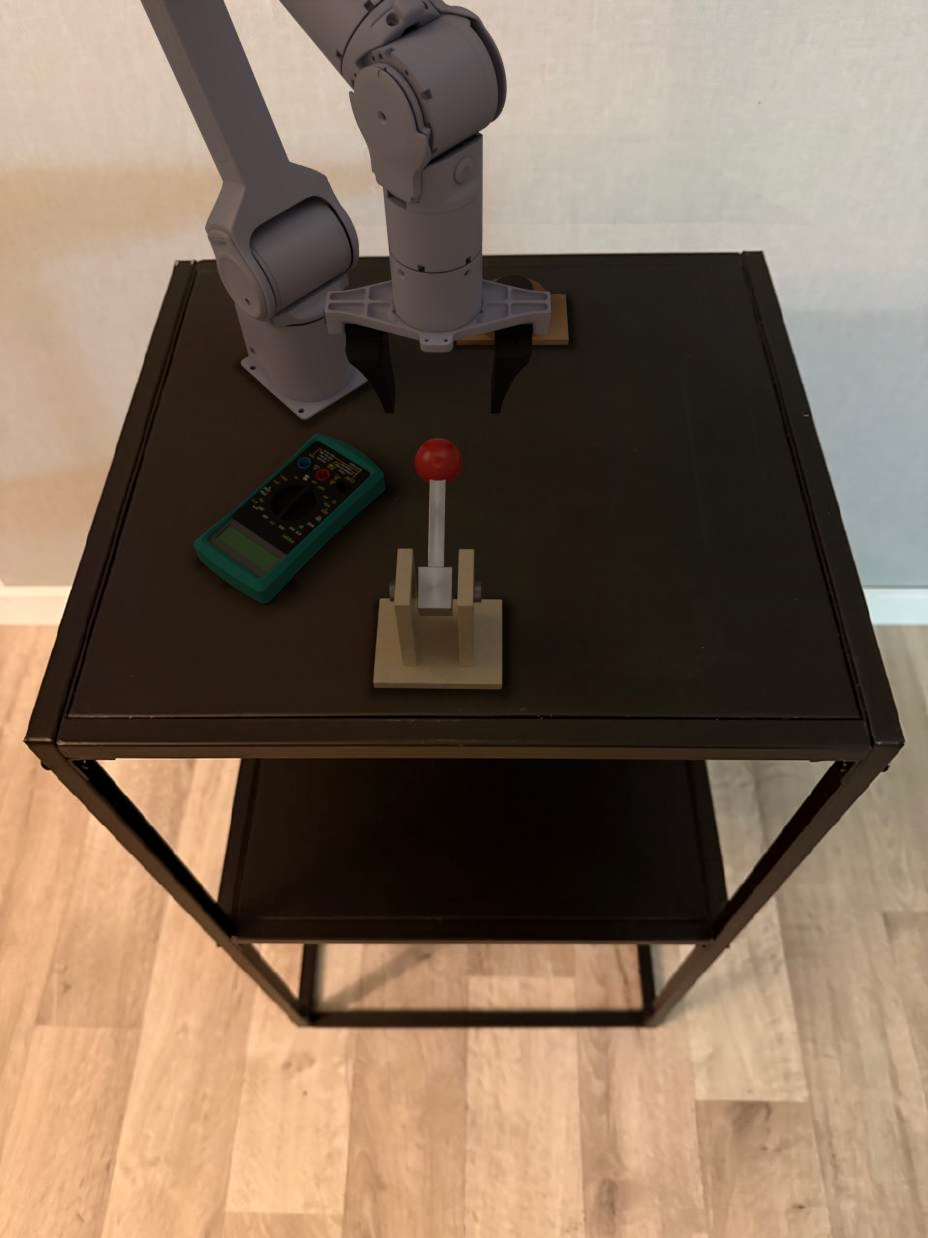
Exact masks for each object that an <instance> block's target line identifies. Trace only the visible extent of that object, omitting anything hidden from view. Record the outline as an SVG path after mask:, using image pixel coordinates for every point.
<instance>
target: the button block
mask: <svg viewBox="0 0 928 1238" xmlns="http://www.w3.org/2000/svg"><path fill="white" fill-rule="evenodd" d="M499 278H500V277H498V278H495V279H493V280H491V281H492V282H495V281H496V280H497V279H499ZM528 279H529V280H530V281H531V283H532V285H533V288H534V289H533V291H546V292H547V290H546V289H545V288H544V287H543V286H542V285H541V283H540V282H538V281H535V280H533V279H530V278H528ZM550 299H551V318H550V331H549V335H536V334H534V333H533V332H532V346H568V345H569V340H570V339H569V323H568V309H567V295H566V293H550ZM494 338H495V331H491V332H488V333H484V334H480V335H476V336H472V337H468V338H464V339H460V340H456V341H455V342H456V344H455V345H456V346H494Z"/></svg>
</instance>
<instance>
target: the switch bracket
mask: <svg viewBox="0 0 928 1238" xmlns="http://www.w3.org/2000/svg"><path fill="white" fill-rule="evenodd" d="M396 554H397V555H396V556H397V557H396V569H395V570H396V571H395V580H390V581H389V586H388V587H389V588H388V592H389V593H388V595H389V598H387V597H385V598H383V597H382V598H379V602H378V604H379V605H378V614H377V630H376V642H375V655H374V667H373V678H372V679H373V680H372V683H373V687H374V688H375V689H443V690H445V689H446V690H447V689H449V690H450V689H451V690H502V689H503V599H499V598H498V599H496V598H495V599H490V598H487V599H486V598H483V599H482V584H483V582H482V581H480V580H479V581H478V580H476V581H475V549H473V548H471V549H470V548H459V549H458V567H457V568H458V572H457V598H453V616H420V614H419V611H418V608H417V606H418V583H417V575H416V565H415V556H414V555H415V554H414V549H413V548H398V549H397V553H396Z"/></svg>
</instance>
